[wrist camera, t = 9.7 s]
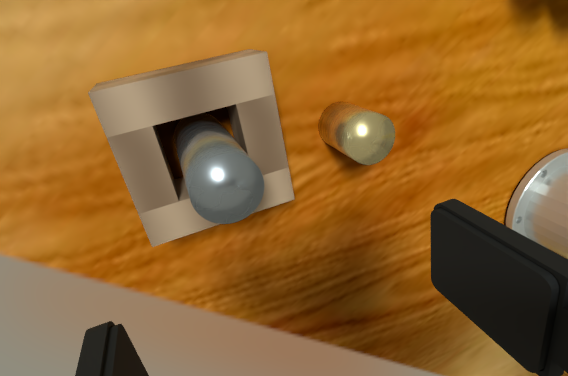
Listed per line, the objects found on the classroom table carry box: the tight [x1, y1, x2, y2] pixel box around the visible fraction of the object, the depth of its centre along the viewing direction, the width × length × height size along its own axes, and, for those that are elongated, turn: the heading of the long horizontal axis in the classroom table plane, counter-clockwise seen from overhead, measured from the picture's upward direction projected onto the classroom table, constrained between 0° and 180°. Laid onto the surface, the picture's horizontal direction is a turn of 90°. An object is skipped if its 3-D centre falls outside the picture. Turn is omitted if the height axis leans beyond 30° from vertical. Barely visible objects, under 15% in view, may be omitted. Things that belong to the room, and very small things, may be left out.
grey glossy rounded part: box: [318, 102, 395, 165], centre depth 27 cm, size 4×4×5 cm
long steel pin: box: [174, 113, 264, 224], centre depth 22 cm, size 4×4×10 cm
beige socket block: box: [88, 49, 294, 247], centre depth 24 cm, size 10×10×4 cm
